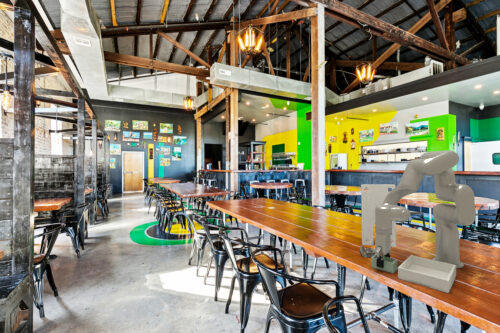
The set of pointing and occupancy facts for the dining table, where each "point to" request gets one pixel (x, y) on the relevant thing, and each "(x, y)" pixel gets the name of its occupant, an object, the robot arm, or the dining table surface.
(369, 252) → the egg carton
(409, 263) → the light grey tray
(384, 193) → the notched grey plate
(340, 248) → the dining table surface
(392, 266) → the small crate
